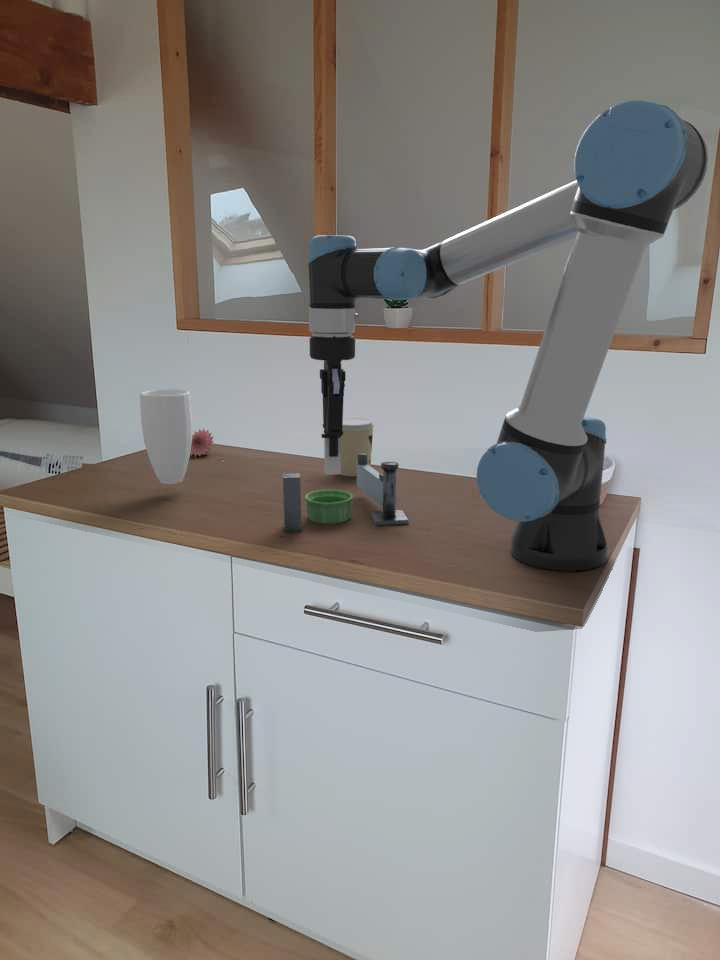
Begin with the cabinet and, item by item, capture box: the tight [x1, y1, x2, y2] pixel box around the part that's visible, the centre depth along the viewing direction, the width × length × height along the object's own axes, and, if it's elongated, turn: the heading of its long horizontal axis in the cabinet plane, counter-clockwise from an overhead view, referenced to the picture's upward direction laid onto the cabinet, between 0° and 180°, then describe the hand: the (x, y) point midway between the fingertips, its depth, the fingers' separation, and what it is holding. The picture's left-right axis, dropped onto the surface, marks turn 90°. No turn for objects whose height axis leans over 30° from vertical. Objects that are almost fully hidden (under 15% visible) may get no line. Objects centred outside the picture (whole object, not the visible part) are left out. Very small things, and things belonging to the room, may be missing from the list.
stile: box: [282, 472, 302, 533], centre depth 133 cm, size 3×3×10 cm
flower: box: [190, 428, 214, 458], centre depth 190 cm, size 8×8×6 cm
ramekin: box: [304, 489, 354, 525], centre depth 140 cm, size 9×9×4 cm
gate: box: [356, 453, 383, 508], centre depth 146 cm, size 16×2×7 cm, turn 18°
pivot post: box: [370, 461, 409, 526], centre depth 137 cm, size 6×6×11 cm
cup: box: [139, 388, 193, 485], centre depth 152 cm, size 10×10×22 cm
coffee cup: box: [339, 417, 375, 477], centre depth 171 cm, size 9×9×12 cm
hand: (332, 473), depth 128 cm, fingers closed
